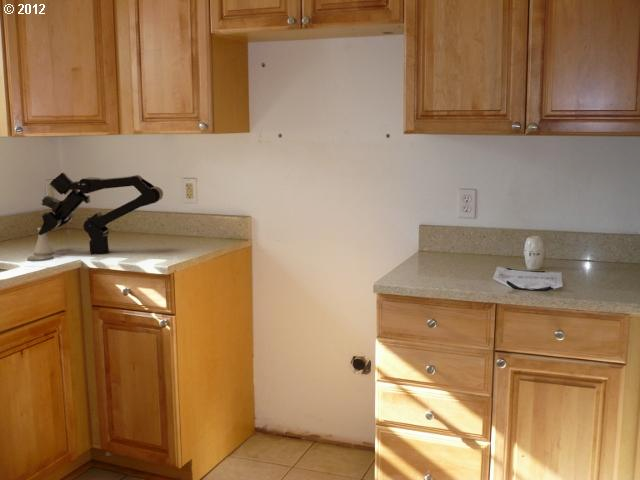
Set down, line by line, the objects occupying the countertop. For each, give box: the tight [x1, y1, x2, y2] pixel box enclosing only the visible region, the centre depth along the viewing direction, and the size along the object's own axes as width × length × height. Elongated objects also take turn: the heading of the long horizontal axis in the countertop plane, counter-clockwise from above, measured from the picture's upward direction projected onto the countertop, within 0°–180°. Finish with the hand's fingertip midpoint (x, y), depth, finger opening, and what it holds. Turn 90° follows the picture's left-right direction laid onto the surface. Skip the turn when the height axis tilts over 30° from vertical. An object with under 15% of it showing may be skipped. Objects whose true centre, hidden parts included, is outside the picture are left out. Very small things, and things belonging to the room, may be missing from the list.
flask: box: [33, 227, 55, 255], centre depth 272 cm, size 7×7×10 cm
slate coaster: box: [26, 254, 54, 262], centre depth 263 cm, size 9×9×1 cm
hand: (43, 232), depth 272 cm, fingers open, 9 cm apart
